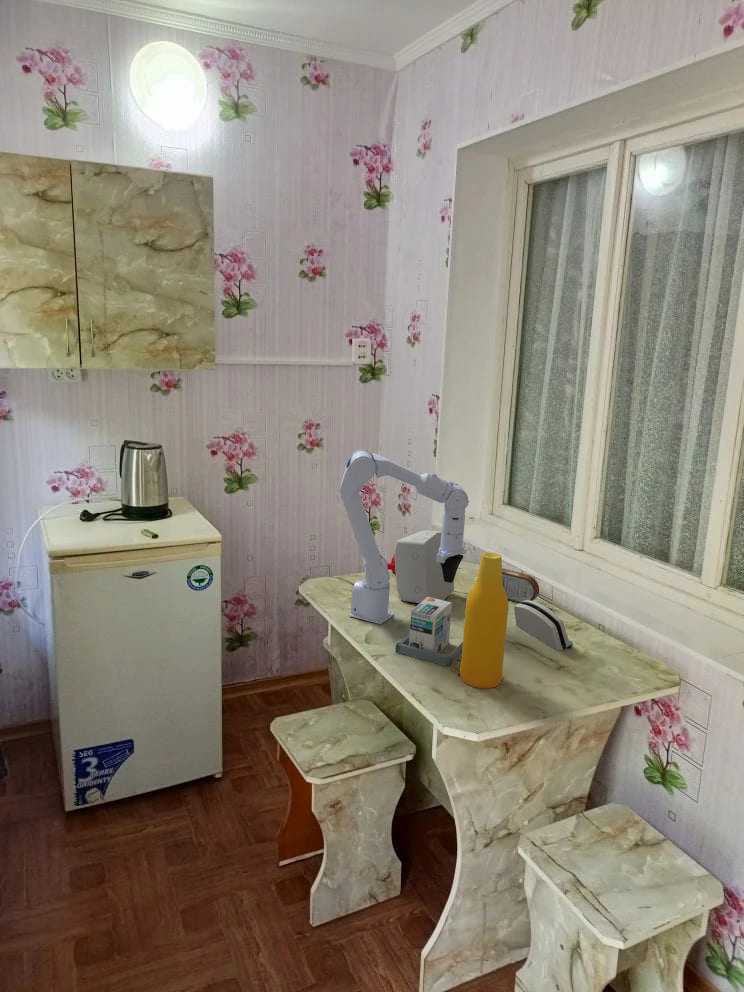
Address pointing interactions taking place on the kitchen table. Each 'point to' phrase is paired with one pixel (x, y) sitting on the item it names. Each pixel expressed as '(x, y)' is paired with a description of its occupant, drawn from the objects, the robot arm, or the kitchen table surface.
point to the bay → (428, 652)
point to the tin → (519, 586)
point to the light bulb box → (430, 625)
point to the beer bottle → (485, 626)
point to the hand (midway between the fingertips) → (448, 581)
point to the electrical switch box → (419, 568)
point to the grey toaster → (542, 624)
